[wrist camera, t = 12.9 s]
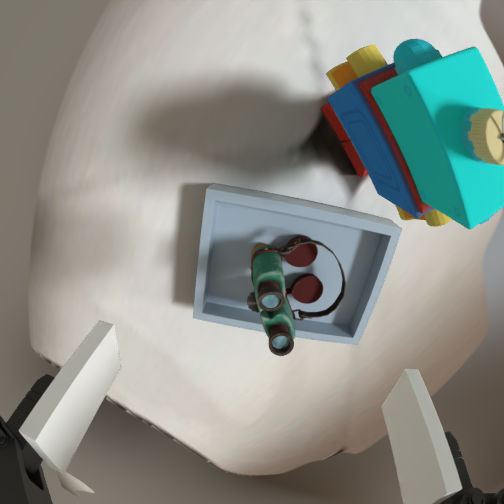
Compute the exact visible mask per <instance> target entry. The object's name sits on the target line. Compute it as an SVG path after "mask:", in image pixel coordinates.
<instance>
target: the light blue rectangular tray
mask: <svg viewBox="0 0 504 504" xmlns="http://www.w3.org/2000/svg"><path fill="white" fill-rule="evenodd" d="M401 230H402V228H400V227H399V226H398V225H397V224H395V223H394V222H393V221H392V220H390V219H387V218H383V217H379V216H375V215H370V214H366V213H362V212H358V211H354V210H349V209H345V208H341V207H336V206H332V205H327V204H323V203H318V202H313V201H308V200H304V199H299V198H294V197H289V196H284V195H278V194H273V193H268V192H262V191H257V190H251V189H246V188H240V187H234V186H228V185H222V184H216V183H213V184H212V185H211V186H209V187H208V188H207V189H206V195H205V203H204V211H203V219H202V228H201V237H200V246H199V256H198V266H197V276H196V287H195V299H194V312H193V318H195V319H199V320H204V321H209V322H214V323H219V324H224V325H229V326H234V327H239V328H245V329H250V330H256V331H261V332H265V330H264V328H263V325H262V321H261V317H260V312H259V313H256V312H255V311H254V312H253V311H252V310H251V309H249V308H248V305H247V297H248V296H249V295H250V293H251V292H254V286H253V283H252V279H251V269H250V267H251V252H252V249H253V248H254V246H256V245H257V244H260V243H265V244H269V245H273V246H275V247H277V248H278V249H279V248H280V247H281V246H283V245H285V244H286V243H287V242H288V241H290V240H291V239H292V238H294V237H296V236H300V235H305V236H308V237H310V238H311V239H312V240H316V241H319V242H321V243H323V244H324V245H325V246H327V247H328V248H329V249H331V250H332V251H333V253H334V254H335V255H336V257H337V259H338V260H339V262H340V263H341V266H342V268H343V271H344V275H345V280H346V288H345V296H344V298H343V299H342V301H341V302H340V304H339V306H338V307H337V309H336V310H334V311H333V312H332V313H330V314H329V315H327V316H323V317H319V318H312V319H308V318H305V319H304V320H303V321H297V320H294V319H293V321H294V327H295V337H299V338H305V339H312V340H320V341H327V342H335V343H344V344H352V345H358V344H359V341H360V339H361V337H362V335H363V332H364V330H365V328H366V326H367V323H368V321H369V319H370V316H371V314H372V311H373V309H374V306H375V304H376V302H377V299H378V296H379V294H380V291H381V289H382V286H383V283H384V281H385V278H386V275H387V272H388V270H389V267H390V264H391V261H392V258H393V255H394V252H395V249H396V246H397V243H398V240H399V237H400V234H401ZM316 246H317V249H318V255H317V257H316V259H315V261H314V262H313V263H312V264H310V265H308V266H306V267H294V266H291V265H290V264H288V263H287V262H286V260H285V258H284V256H282V266H283V272H284V279H285V288H286V289H287V288H290V287H291V285H292V283H293V281H294V280H295V279H296V278H297V277H299V276H300V275H302V274H306V273H310V274H314V275H315V276H317V277H318V278H319V280H320V281H321V282H322V284H323V293H322V296H321V297H320V298H319V299H318V300H317V301H316V302H314V303H310V304H304V303H300V302H298V301H297V300H295V299H294V298H293V296H292V294H288V295H287V297H288V300H289V303H290V306H291V309H292V311H293V310H296V309H300V310H302V311H306V312H318V311H322V310H326V309H327V308H329V307H330V306H331V305H332V304H333V303H334V302H335V300H336V299H337V297H338V295H339V294H340V292H341V287H342V275H341V270H340V267H339V264H338V262H337V260H336V258H335V256H334V255H333V254H332V253H331V252H329V251H328V250H327V249H325V248H324V247H323V246H320V245H316ZM282 250H283V248H282ZM294 313H295V317H296V318H298V319H300V318H299V314H298V311H296V312H294Z"/></svg>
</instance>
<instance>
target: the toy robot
mask: <svg viewBox="0 0 504 504" xmlns="http://www.w3.org/2000/svg"><path fill="white" fill-rule="evenodd" d="M393 58H394V63H392V64H389V65H388V64H387V63H386V61H385V59H384V58H383V56H382V55H381V53H380V52H379V50H378V49H377V47H376V46H375V45H370V46H366V47H364V48H361V49H359V50H357V51H355V52H354V53H352V54H351V55H349V56H348V57H347V58H346V59H347V61H348V62H345V63H342V64H340V65H338V66H336V67H334V68H332V69H331V70H330V71H328V72H327V73H326V75H327V76H328V78H329V79H330V81H331V83H332V84H333V86H334V87H335V89H336V91H337V92H335V93H334V94H333V95H332V96H330V97H329V98H328V101H329V103H328V104H326V105H324V106H322V107H321V110H322V111H323V113H324V115H325V116H326V118H327V120H328V122H329V123H330V125H331V127H332V128H333V130H334V132H335V134H336V135H337V137H338V139H339V141H342V142H341V144H342V146H343V148H344V150H345V152H346V153H347V155H348V157H349V159H350V161H351V163H352V165H353V167H354V169H355V171H356V173H357V175H358V176H360V177H364V176H366V175H367V174H369V176H370V178H371V180H372V182H373V184H374V186H375V188H376V191H377V193H378V194H379V195H381V196H382V197H384V198H385V199H387V200H389V201H390V202H392V203H393V204H395V205H396V207H397V210H398V212H399V215H400V217H401V219H403V220H411V219H420V220H426V221H427V224H428V225H430V226H441V225H444V224H446V223H448V222H449V221H450V220H451V219H453V220H455V221H456V222H458V223H460V224H461V225H463V226H464V227H466V228H468V229H472V228H474V227H475V226H477V225H478V224H482V223H484V222H486V221H488V220H489V219H490V218H491V217H492V215H493V214H494V213H495V212H497V211H498V210H500V209H501V208H502V207H504V105H503V103H502V100H501V98H500V95H499V93H498V90H497V88H496V85H495V83H494V81H493V79H492V76H491V74H490V72H489V70H488V68H487V66H486V64H485V62H484V60H483V58H482V56H481V54H480V52H479V50H478V49H477V48H476V47H471V48H468V49H465V50H462V51H459V52H456V53H453V54H450V55H447V56H445V57H442V56H441V54H440V52H439V50H436V49H435V48H434V47H433V46H432V45H431V44H430V43H428V42H426V41H424V40H420V39H410V40H407V41H404V42H402V43H401V44H400V45H399V46H398V47H397V48H396V50H395V52H394V57H393Z"/></svg>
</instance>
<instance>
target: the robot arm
mask: <svg viewBox="0 0 504 504" xmlns="http://www.w3.org/2000/svg"><path fill="white" fill-rule="evenodd" d="M121 368H122V366H121V361H120V356H119V351H118V345H117V340H116V334H115V328H114V324H111V323H107V322H104V321H100V320H99V322H98V323H97V324H96V325H95V327H94V328H93V329H92V330H91V332H90V333H89V334H88V335H87V337H86V338H85V339H84V340H83V342H82V343H81V344H80V345H79V347H78V348H77V349H76V351H75V352H74V353H73V355H72V356H71V357H70V358H69V360H68V361H67V362H66V364H65V365H64V366H63V368H62V369H61V370H60V372H59V373H58V374H57V376H56V377H55V378H54V377H52V376H50V375H48V374H46V375H45V376H43V377H42V378H40V379H38V380H37V381H36V383H35V384H34V385H33V387H32V388H31V391H29V392H28V393H27V395H26V397H25V398H24V399H23V400H22V402H21V403H20V404H19V406H18V407H17V409H16V410H15V412H14V413H13V414H12V416H11V417H10V419H9V420H8V421H7V422H6V423H5V421H4V420H3V418H2V417H1V416H0V504H53V503H52V500H51V497H50V494H49V491H48V487H47V484H46V481H45V477H44V473H43V470H42V467H41V465H40V464H41V462H42V460H43V461H44V462H45V463H46V464H47V465H48V466H49V467H51V468H53V469H55V470H56V471H58V472H60V473H62V474H64V473H65V471H66V469H67V467H68V465H69V463H70V461H71V459H72V457H73V455H74V453H75V451H76V449H77V447H78V445H79V443H80V442H81V440H82V438H83V436H84V434H85V432H86V430H87V428H88V426H89V424H90V423H91V421H92V419H93V417H94V415H95V414H96V412H97V410H98V408H99V406H100V404H101V403H102V401H103V399H104V397H105V396H106V394H107V392H108V390H109V388H110V387H111V385H112V383H113V381H114V380H115V378H116V376H117V374H118V373H119V371H120V369H121ZM381 407H382V411H383V415H384V418H385V422H386V426H387V430H388V434H389V438H390V442H391V447H392V451H393V455H394V460H395V464H396V469H397V474H398V479H399V483H400V489H401V494H402V500H403V504H504V488H503V489H502V490H500V491H499V492H498V493H486V494H484V493H483V492H482V491H481V490H480V489H478V488H473V486H472V484H471V482H470V479H469V475H468V472H467V469H466V466H465V463H464V460H463V459H462V454H461V451H459V450H460V449H459V446H458V443H457V440H456V439H455V438H454V436H453V435H452V434H451V433H450V432H444V431H443V428H442V426H441V423H440V420H439V418H438V415H437V413H436V410H435V408H434V405H433V403H432V400H431V398H430V396H429V393H428V391H427V389H426V386H425V384H424V382H423V379H422V377H421V375H420V373H419V370H418V369H405V370H404V372H403V373H402V375H401V377H400V378H399V380H398V381H397V383H396V385H395V386H394V388H393V389H392V391H391V392H390V394H389V395H388V397H387V398H386V400H385V401H384V403H383V404H382V406H381Z"/></svg>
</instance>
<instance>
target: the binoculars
mask: <svg viewBox="0 0 504 504" xmlns="http://www.w3.org/2000/svg"><path fill="white" fill-rule="evenodd" d="M316 245H320V246H323V247H324V248H325V249H327V250H328V251H329V252H331V253H332V254H333V255H334V256H335V258H336V260H337V262H338V264H339V267H340V270H341V275H342V287H341V292H340V294H339V295H338V297H337V299H336V300H335V302H334V303H333V304H332V305H331V306H330V307H329V308H327V309H326V310H322V311H318V312H306V311H302V310H300V309H296V310H293V311H292V309H291V306H290V303H289V300H288V297H287V295H288V294H292V296H293V298H294V299H295V300H297V301H298V302H300V303H304V304H310V303H314V302H316V301H317V300H318V299H319V298H320V297H321V296H322V293H323V284H322V282H321V281H320V280H319V278H318V277H317V276H315V275H314V274H310V273H306V274H302V275H300V276H299V277H297V278H296V279H295V280H294V281H293V283H292V285H291V287H290V288H287V289H286V288H285V279H284V272H283V266H282V256H284V258H285V260H286V262H287V263H288V264H290V265H291V266H294V267H306V266H308V265H310V264H312V263H313V262H314V261H315V259H316V257H317V255H318V249H317V246H316ZM282 248H283V250H282ZM250 269H251V279H252V283H253V286H254V292H251V293H250V295H249V296H248V297H247V305H248V308H249V309H251V310H252V311H253V312H254V311H255V312H256V313H259V312H260V317H261V321H262V325H263V328H264V330H265V332H266V334H267V336H268V337H269V348H270V350H271V352H272V353H273V354H275V355H278V356H284V355H287V354H289V353H290V352H291V351H292V349H293V347H294V341H293V339H294V338H295V327H294V321H293V319H294V320H297V321H303V320H304V319H305V318H308V319H312V318H319V317H323V316H327V315H329V314H330V313H332V312H333V311H334V310H336V309H337V307H338V306H339V304H340V302H341V301H342V299H343V298H344V296H345V288H346V280H345V275H344V271H343V268H342V266H341V263H340V262H339V260H338V259H337V257H336V255H335V254H334V253H333V251H332V250H331V249H329V248H328V247H327V246H325V245H324V244H323V243H321V242H319V241H316V240H312V239H311V238H310V237H308V236H305V235H300V236H296V237H294V238H292V239H291V240H290V241H288V242H287V243H286V244H285V245H283V246H281V247H280V248H279V249H278V248H277V247H275V246H273V245H269V244H265V243H260V244H257V245H256V246H254V248H253V249H252V252H251V267H250ZM296 311H298V314H299V318H300V319H298V318H296V317H295V313H294V312H296Z"/></svg>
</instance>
